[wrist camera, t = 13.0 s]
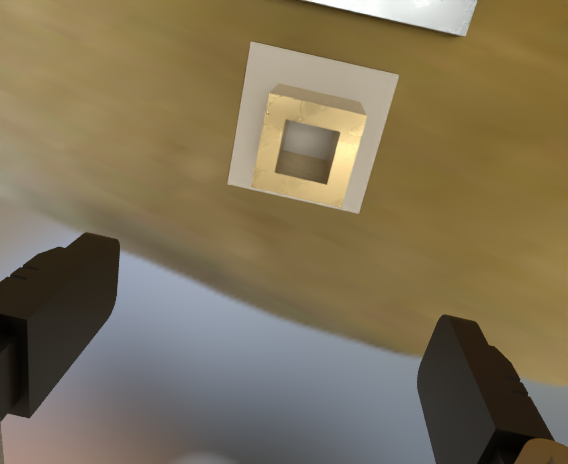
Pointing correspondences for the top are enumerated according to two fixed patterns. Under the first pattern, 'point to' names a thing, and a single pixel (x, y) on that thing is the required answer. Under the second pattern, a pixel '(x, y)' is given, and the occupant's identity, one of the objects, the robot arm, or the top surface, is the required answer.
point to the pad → (302, 137)
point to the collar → (300, 168)
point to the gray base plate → (412, 12)
